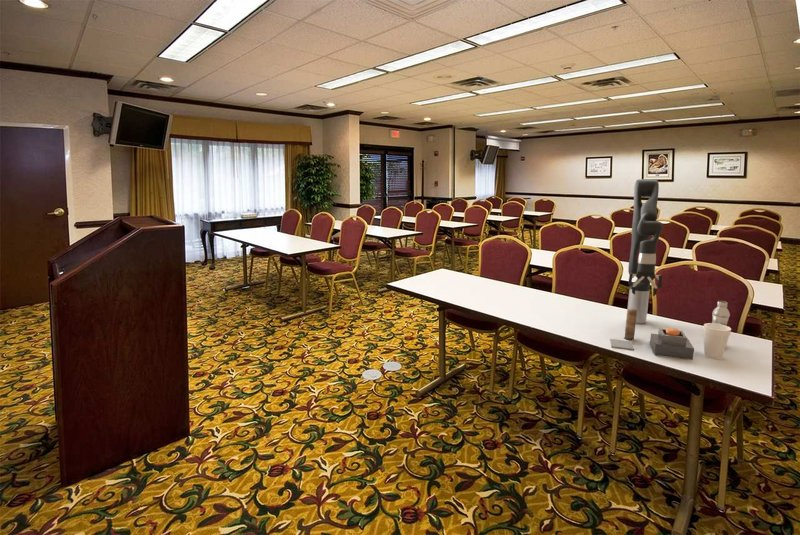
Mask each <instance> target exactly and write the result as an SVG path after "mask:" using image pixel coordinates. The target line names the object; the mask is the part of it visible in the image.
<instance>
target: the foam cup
mask: <svg viewBox="0 0 800 535" xmlns="http://www.w3.org/2000/svg"><path fill="white" fill-rule="evenodd" d="M702 328H703V329H702V331H703V355H704V356H705V357H707V356H708V357H707V358H710V357H711V359H714V358H716V359H717V358H719V359H717V360H721V359H723V357H724V353H725V351H726V350H725V349H726V347H727V344H728V340H729V337H730V336H731V331H732V328H731V327H730V326H725V325H721V324H715V323H712V322H708V323H704V324H703V327H702ZM716 359H715V360H716Z"/></svg>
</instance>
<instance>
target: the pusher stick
mask: <svg viewBox="0 0 800 535" xmlns="http://www.w3.org/2000/svg"><path fill="white" fill-rule="evenodd" d="M636 317H637V310H635V309H628V308H627V310H626V318H627V319H626V321H625V329H624V340H626V341H634V340H635V334H636V333H635V332H636V326H637V323H636Z"/></svg>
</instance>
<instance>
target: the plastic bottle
mask: <svg viewBox="0 0 800 535" xmlns="http://www.w3.org/2000/svg"><path fill="white" fill-rule="evenodd" d="M716 305H717V306H716V307H714V309H713V311H712V313H711V314H712V321H711V323H715V324H721V325H725V326H727V325H728V322H729V320H730V319H729V318H730V316H731V313H730V311H729V309H728V302H727V301H724V300H718V301H717V304H716Z"/></svg>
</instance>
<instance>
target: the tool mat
mask: <svg viewBox="0 0 800 535" xmlns="http://www.w3.org/2000/svg"><path fill="white" fill-rule="evenodd" d="M609 342H610V346H611V348H613V349H621V350H628V351H630V350H632V351H634V350H635V346H634V345H633V340H627V339H624V340H623V339H617V338H609Z"/></svg>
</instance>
